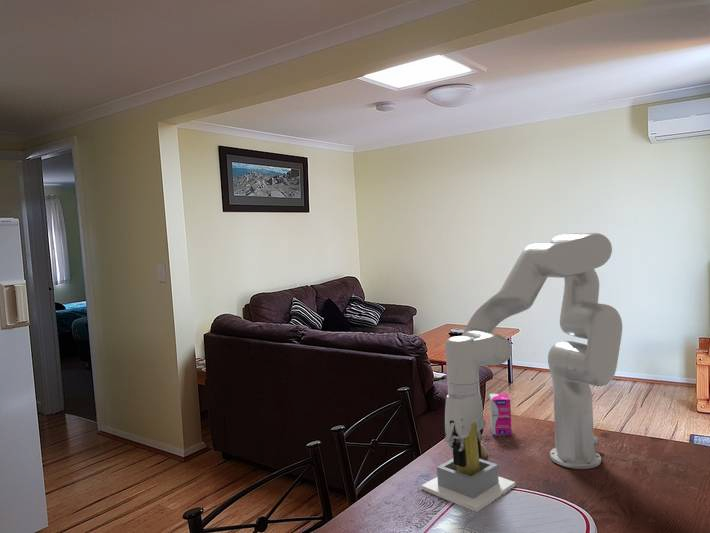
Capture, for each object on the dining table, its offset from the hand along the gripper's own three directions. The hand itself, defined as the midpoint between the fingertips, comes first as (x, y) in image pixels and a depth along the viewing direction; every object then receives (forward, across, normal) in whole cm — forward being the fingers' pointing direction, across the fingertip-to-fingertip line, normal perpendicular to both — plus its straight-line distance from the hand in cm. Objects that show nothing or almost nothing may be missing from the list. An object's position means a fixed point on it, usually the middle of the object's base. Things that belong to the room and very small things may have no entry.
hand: (467, 460), depth 127 cm
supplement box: (+7, -35, -13) cm, 38 cm away
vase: (+5, 0, 0) cm, 5 cm away
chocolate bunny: (+7, -15, -9) cm, 19 cm away
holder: (+7, 0, 0) cm, 7 cm away
